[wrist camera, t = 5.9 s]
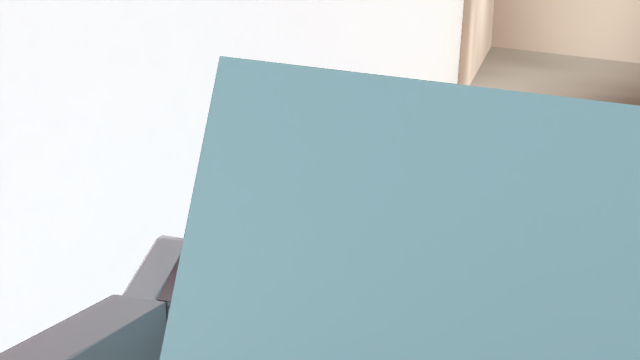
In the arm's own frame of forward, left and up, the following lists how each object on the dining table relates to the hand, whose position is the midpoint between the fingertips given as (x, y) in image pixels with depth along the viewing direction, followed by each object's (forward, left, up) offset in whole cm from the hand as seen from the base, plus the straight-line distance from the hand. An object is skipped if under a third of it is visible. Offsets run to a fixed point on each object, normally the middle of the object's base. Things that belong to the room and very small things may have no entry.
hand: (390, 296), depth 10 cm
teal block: (0, +1, -6) cm, 6 cm away
